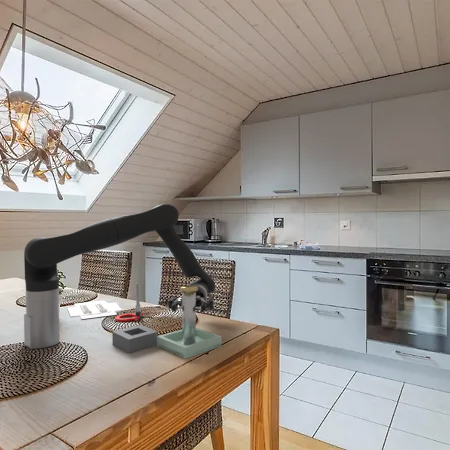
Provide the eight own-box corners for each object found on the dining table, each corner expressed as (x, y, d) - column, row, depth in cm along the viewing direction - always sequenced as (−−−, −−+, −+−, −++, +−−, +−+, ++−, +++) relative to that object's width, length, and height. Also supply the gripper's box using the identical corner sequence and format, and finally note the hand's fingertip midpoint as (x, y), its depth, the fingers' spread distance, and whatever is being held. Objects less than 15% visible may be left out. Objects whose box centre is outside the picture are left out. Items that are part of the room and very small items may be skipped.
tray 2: (72, 322, 137) (72, 313, 137) (65, 309, 161) (65, 300, 162) (126, 315, 147) (126, 306, 147) (112, 303, 171) (112, 296, 171)
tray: (185, 358, 100) (185, 348, 100) (157, 346, 110) (156, 336, 110) (221, 346, 110) (221, 336, 110) (192, 335, 120) (192, 326, 120)
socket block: (129, 353, 105) (128, 339, 105) (112, 344, 112) (112, 331, 112) (157, 344, 112) (157, 331, 112) (140, 336, 119) (140, 324, 119)
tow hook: (111, 323, 136) (137, 322, 135) (109, 286, 136) (135, 285, 135) (119, 316, 145) (144, 315, 144) (117, 282, 145) (142, 281, 144)
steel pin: (187, 347, 107) (187, 289, 106) (177, 342, 110) (177, 286, 110) (201, 342, 110) (201, 286, 110) (190, 338, 114) (190, 284, 114)
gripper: (175, 285, 125) (164, 296, 108) (216, 286, 124) (211, 296, 108) (175, 307, 125) (164, 320, 109) (216, 307, 124) (211, 321, 108)
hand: (188, 308), depth 108 cm, fingers open, 8 cm apart
